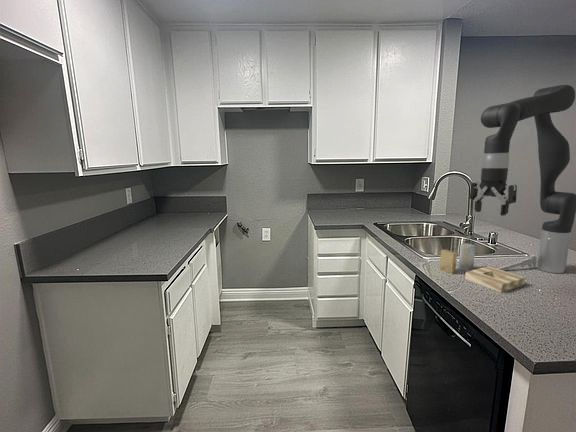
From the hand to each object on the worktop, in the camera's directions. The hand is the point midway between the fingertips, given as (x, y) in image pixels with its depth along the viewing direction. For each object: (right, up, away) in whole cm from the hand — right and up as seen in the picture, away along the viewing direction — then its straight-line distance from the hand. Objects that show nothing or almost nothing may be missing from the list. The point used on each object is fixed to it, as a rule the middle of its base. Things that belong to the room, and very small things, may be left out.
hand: (490, 213), depth 107 cm
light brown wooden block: (-2, -25, +25) cm, 35 cm away
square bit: (+7, -24, +27) cm, 37 cm away
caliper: (+27, -25, +25) cm, 44 cm away
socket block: (+10, -27, +13) cm, 31 cm away
